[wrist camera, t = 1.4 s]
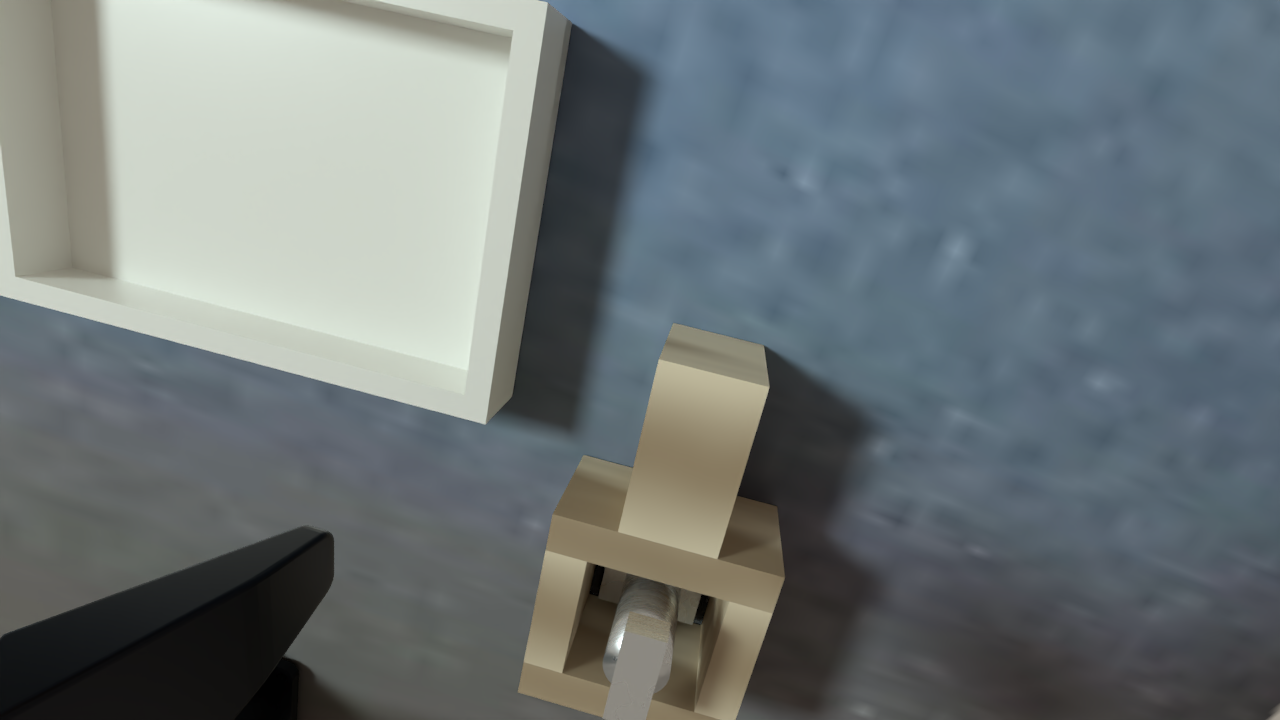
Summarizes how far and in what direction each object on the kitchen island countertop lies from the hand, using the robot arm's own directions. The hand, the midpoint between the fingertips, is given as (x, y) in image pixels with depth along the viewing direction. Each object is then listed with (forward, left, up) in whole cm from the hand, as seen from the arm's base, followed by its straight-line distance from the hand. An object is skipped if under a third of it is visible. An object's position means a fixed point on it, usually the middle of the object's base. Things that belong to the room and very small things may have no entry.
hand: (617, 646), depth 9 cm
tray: (+3, +14, -13) cm, 20 cm away
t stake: (-8, -1, -13) cm, 15 cm away
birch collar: (-5, -1, -13) cm, 14 cm away
